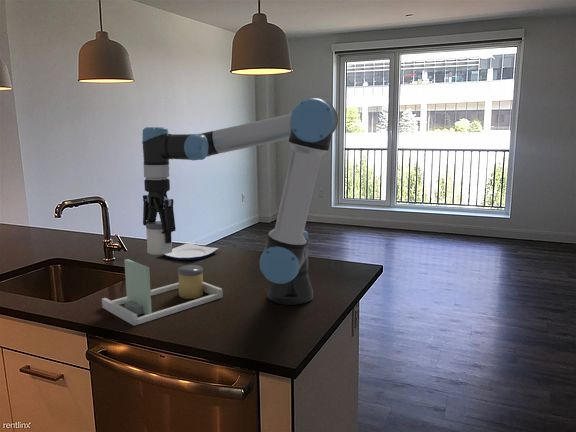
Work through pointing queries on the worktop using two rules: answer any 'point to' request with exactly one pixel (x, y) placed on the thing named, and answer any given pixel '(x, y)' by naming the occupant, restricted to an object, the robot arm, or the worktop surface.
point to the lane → (134, 320)
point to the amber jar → (190, 281)
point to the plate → (190, 252)
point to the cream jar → (155, 238)
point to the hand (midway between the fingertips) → (159, 250)
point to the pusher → (137, 288)
